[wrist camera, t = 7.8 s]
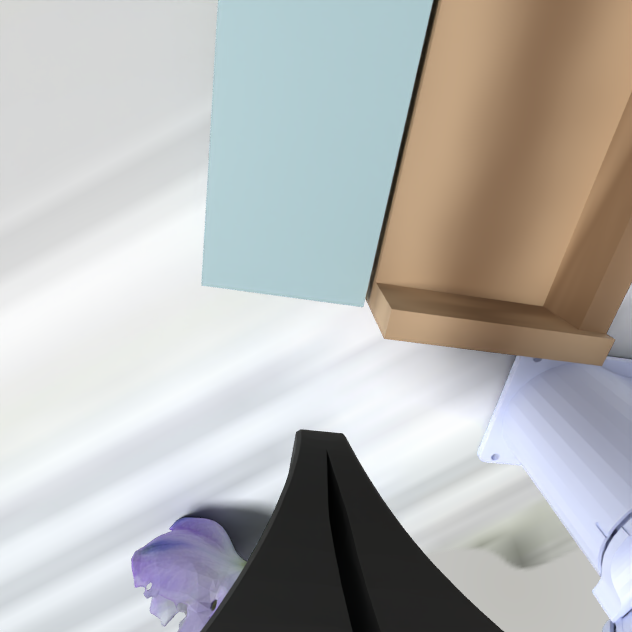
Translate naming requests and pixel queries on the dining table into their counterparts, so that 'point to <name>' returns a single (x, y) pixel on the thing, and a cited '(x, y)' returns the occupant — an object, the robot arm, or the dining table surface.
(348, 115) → the light blue panel
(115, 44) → the dining table surface
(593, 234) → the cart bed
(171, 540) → the flower
